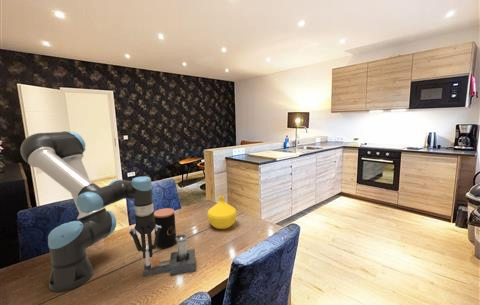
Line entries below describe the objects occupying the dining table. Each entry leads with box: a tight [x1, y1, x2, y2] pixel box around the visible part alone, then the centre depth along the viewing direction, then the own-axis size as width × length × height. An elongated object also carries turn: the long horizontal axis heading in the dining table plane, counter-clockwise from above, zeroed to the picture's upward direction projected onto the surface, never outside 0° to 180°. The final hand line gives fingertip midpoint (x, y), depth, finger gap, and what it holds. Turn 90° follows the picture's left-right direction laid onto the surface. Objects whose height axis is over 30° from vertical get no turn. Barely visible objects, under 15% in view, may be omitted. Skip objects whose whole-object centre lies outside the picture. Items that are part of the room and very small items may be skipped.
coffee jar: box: [153, 207, 177, 249], centre depth 120 cm, size 11×11×18 cm
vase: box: [207, 195, 238, 230], centre depth 140 cm, size 18×18×19 cm
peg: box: [176, 233, 188, 262], centre depth 102 cm, size 5×5×14 cm
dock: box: [141, 248, 197, 277], centre depth 101 cm, size 22×11×4 cm, turn 104°
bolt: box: [150, 256, 170, 269], centre depth 100 cm, size 10×2×5 cm, turn 104°
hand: (148, 263), depth 99 cm, fingers closed
